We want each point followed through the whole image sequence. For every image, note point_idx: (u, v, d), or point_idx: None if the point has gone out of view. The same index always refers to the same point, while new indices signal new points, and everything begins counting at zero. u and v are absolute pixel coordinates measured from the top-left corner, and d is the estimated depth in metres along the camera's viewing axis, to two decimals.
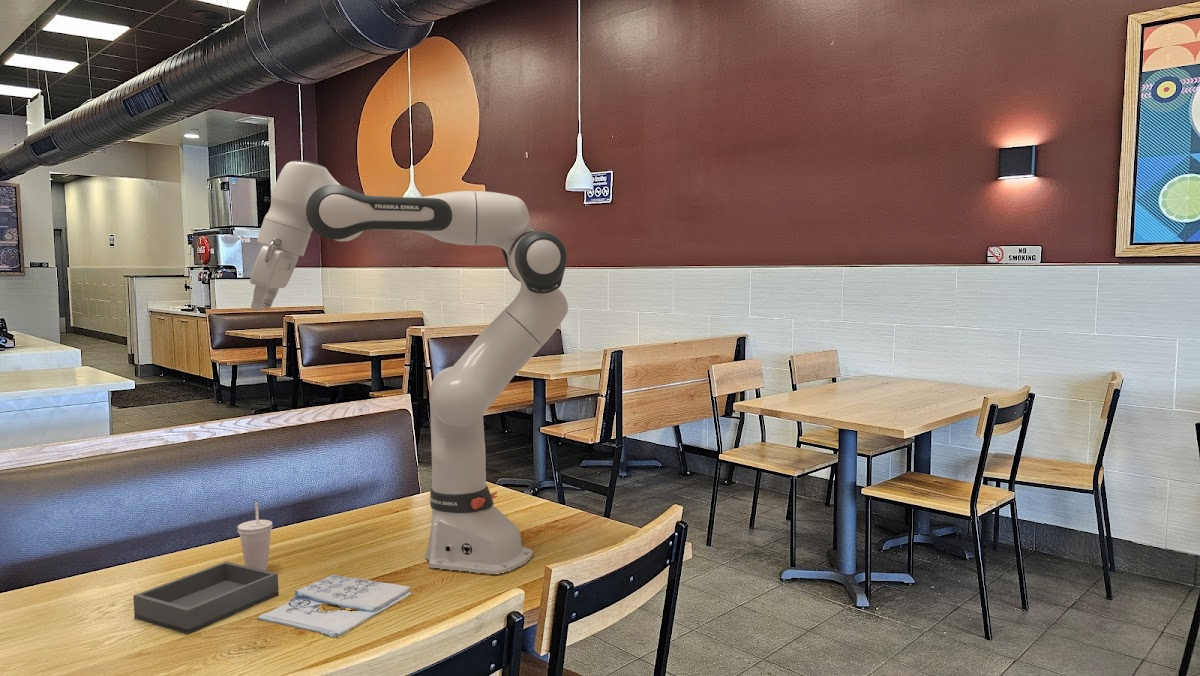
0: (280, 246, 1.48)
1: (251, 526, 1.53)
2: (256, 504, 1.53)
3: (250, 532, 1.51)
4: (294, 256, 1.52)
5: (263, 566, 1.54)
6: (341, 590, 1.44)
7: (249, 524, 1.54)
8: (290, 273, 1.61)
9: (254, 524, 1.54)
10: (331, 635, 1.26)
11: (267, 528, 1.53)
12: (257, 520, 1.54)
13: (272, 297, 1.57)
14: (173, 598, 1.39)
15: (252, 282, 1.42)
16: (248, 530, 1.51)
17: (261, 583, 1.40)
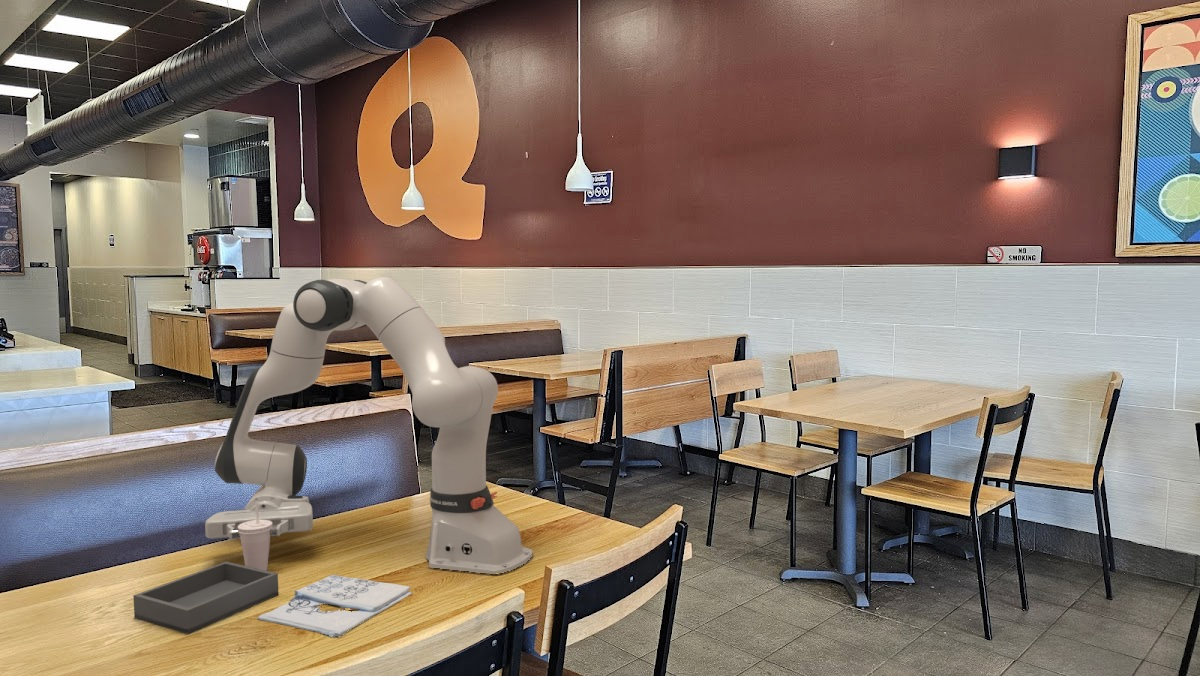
0: None
1: (251, 526, 1.53)
2: (256, 504, 1.53)
3: (250, 532, 1.51)
4: (259, 503, 1.64)
5: (263, 566, 1.54)
6: (341, 590, 1.44)
7: (249, 524, 1.54)
8: (305, 509, 1.63)
9: (254, 524, 1.54)
10: (331, 635, 1.26)
11: (267, 528, 1.53)
12: (257, 520, 1.54)
13: None
14: (173, 598, 1.39)
15: (207, 536, 1.56)
16: (248, 530, 1.51)
17: (261, 583, 1.40)
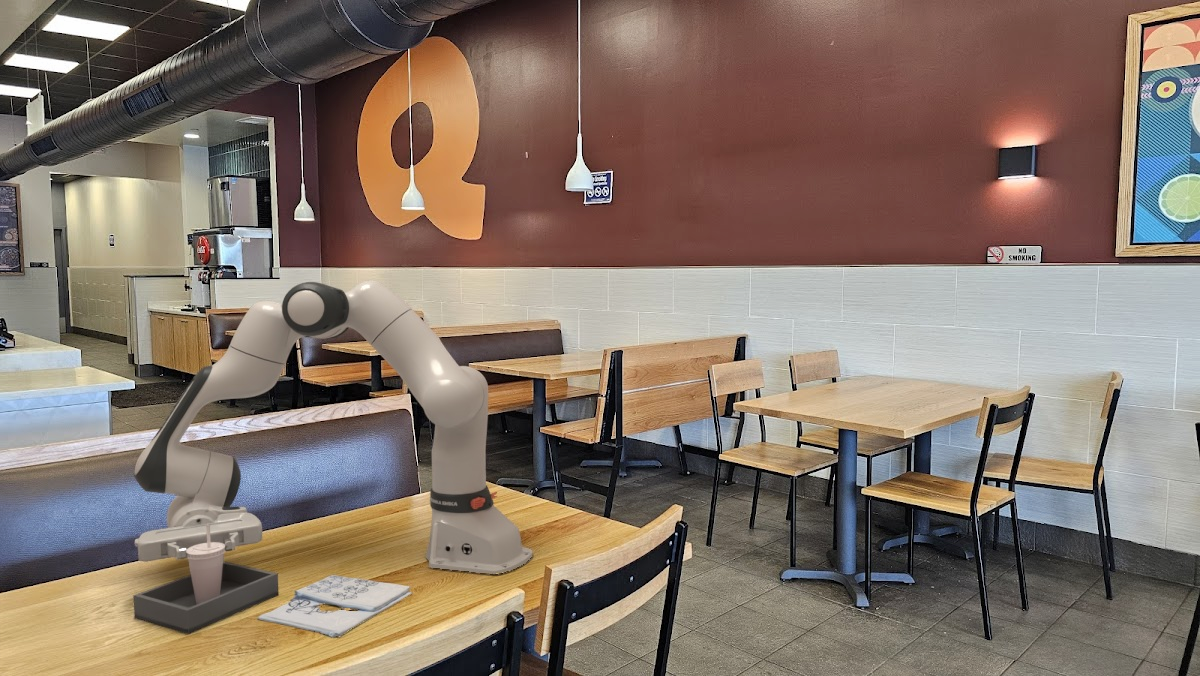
0: None
1: (203, 550, 1.37)
2: (208, 525, 1.38)
3: (205, 557, 1.35)
4: (192, 517, 1.46)
5: (218, 593, 1.38)
6: (341, 590, 1.44)
7: (199, 548, 1.37)
8: (250, 519, 1.48)
9: (205, 548, 1.38)
10: (331, 635, 1.26)
11: (222, 550, 1.38)
12: (209, 543, 1.38)
13: None
14: (173, 598, 1.39)
15: (141, 559, 1.36)
16: (203, 555, 1.35)
17: (261, 583, 1.40)
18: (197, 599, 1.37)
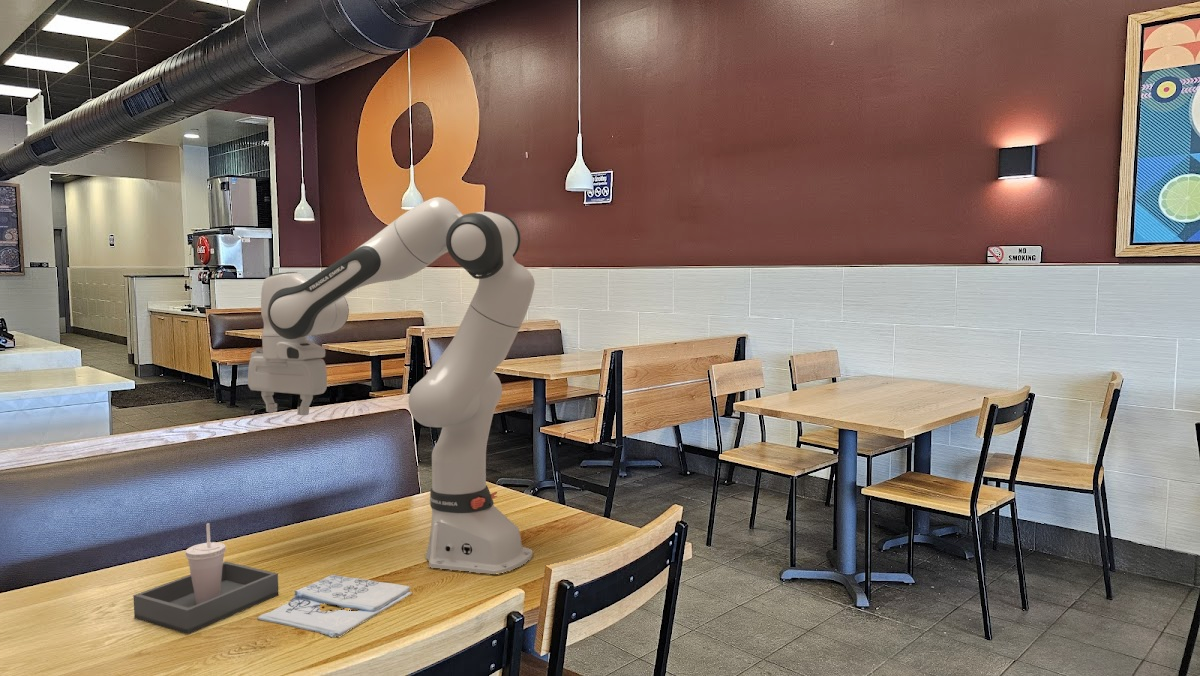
0: None
1: (203, 550, 1.37)
2: (208, 525, 1.38)
3: (205, 556, 1.35)
4: (271, 360, 1.65)
5: (218, 593, 1.38)
6: (341, 589, 1.44)
7: (199, 548, 1.37)
8: (307, 379, 1.62)
9: (205, 548, 1.38)
10: (331, 635, 1.26)
11: (222, 550, 1.38)
12: (209, 543, 1.38)
13: None
14: (173, 598, 1.39)
15: None
16: (203, 554, 1.35)
17: (261, 583, 1.40)
18: (197, 599, 1.37)
